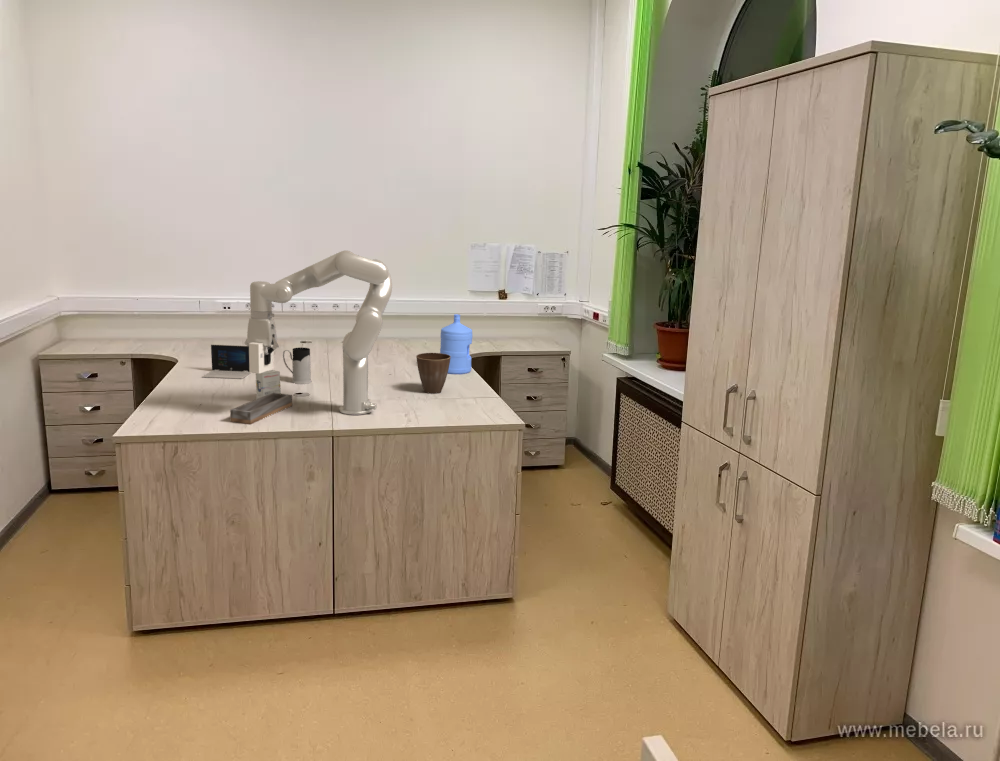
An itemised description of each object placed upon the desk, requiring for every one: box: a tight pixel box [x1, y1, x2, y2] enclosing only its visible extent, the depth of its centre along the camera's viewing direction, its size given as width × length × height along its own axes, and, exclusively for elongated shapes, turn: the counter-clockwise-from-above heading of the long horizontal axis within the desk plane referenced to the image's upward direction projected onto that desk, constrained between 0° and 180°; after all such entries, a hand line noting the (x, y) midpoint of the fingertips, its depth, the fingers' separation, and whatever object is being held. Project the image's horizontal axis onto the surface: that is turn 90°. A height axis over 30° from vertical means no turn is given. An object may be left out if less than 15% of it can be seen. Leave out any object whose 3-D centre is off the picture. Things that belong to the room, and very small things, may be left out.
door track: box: [229, 392, 293, 425], centre depth 291 cm, size 8×28×4 cm, turn 164°
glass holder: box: [282, 347, 313, 385], centre depth 341 cm, size 9×14×15 cm, turn 68°
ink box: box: [255, 369, 282, 400], centre depth 309 cm, size 9×5×12 cm, turn 141°
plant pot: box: [415, 352, 451, 395], centre depth 333 cm, size 15×15×16 cm
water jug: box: [439, 313, 473, 375], centre depth 374 cm, size 16×16×28 cm
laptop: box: [201, 344, 251, 380], centre depth 347 cm, size 18×12×13 cm
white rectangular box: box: [249, 342, 275, 374], centre depth 286 cm, size 4×10×11 cm, turn 164°
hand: (261, 363), depth 286 cm, fingers closed on white rectangular box, 4 cm apart
